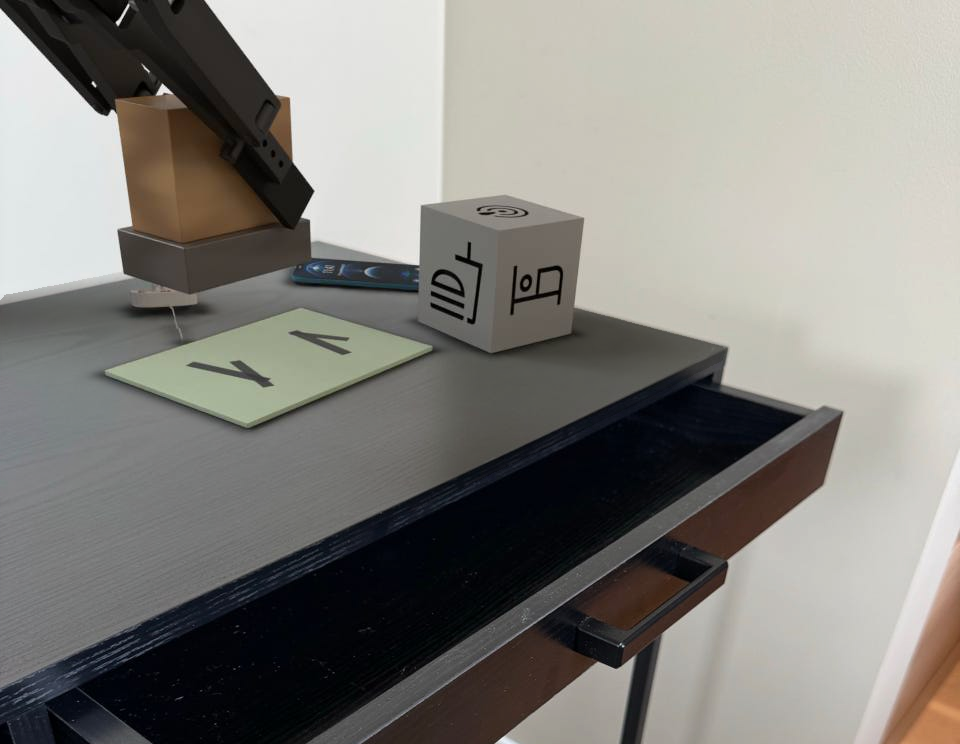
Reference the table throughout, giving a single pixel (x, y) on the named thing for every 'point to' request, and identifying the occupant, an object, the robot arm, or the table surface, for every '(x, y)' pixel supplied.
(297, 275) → the smartphone
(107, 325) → the table surface
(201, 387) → the marker board
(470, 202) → the icon cube
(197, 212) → the eraser
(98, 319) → the table surface
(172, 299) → the game controller
